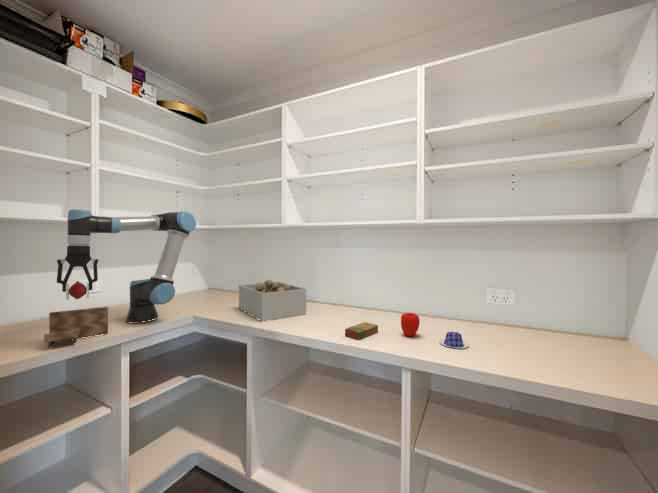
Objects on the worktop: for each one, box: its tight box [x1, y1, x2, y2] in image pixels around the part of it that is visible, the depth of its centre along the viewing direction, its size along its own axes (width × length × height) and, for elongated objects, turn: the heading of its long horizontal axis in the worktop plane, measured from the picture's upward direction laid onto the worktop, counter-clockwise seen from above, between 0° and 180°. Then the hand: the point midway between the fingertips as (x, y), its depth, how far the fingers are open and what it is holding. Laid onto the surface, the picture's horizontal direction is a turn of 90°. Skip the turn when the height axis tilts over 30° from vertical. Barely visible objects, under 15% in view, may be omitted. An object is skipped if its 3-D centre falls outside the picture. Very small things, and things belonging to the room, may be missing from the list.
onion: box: [69, 280, 86, 300], centre depth 122 cm, size 6×6×8 cm
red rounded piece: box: [400, 312, 420, 337], centre depth 136 cm, size 9×9×11 cm
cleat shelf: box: [43, 329, 80, 349], centre depth 121 cm, size 10×11×7 cm
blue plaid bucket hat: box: [439, 331, 470, 349], centre depth 125 cm, size 12×12×5 cm
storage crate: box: [238, 281, 307, 322], centre depth 182 cm, size 29×38×16 cm
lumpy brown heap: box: [255, 279, 291, 293], centre depth 183 cm, size 38×26×20 cm
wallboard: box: [48, 306, 109, 343], centre depth 129 cm, size 20×2×13 cm, turn 127°
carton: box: [344, 321, 379, 341], centre depth 138 cm, size 8×16×4 cm, turn 137°
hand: (77, 298), depth 122 cm, fingers closed on onion, 6 cm apart
